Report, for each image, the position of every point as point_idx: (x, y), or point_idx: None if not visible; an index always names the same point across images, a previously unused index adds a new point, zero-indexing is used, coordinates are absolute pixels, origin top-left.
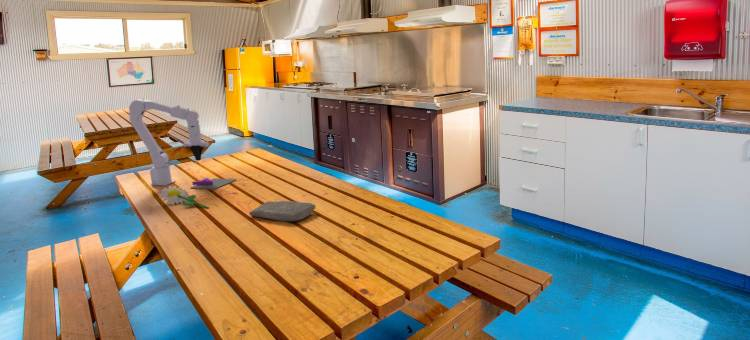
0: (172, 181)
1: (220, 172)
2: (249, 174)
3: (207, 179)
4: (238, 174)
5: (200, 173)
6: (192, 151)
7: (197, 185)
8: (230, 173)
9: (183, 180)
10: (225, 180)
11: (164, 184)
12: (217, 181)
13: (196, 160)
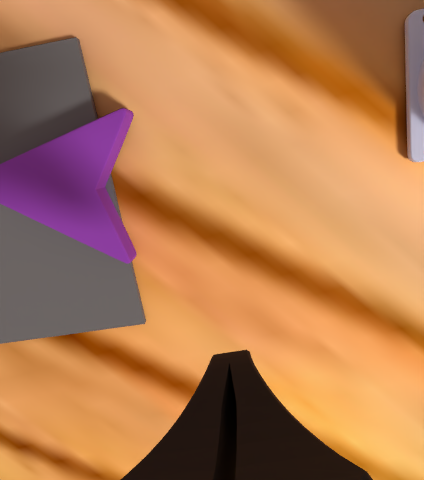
0: (422, 130)
1: None
2: (17, 470)
3: (68, 220)
4: (88, 454)
5: (398, 408)
6: (288, 441)
7: (82, 117)
8: None
9: (372, 217)
10: (5, 303)
11: (417, 17)
12: (37, 264)
13: (243, 351)
